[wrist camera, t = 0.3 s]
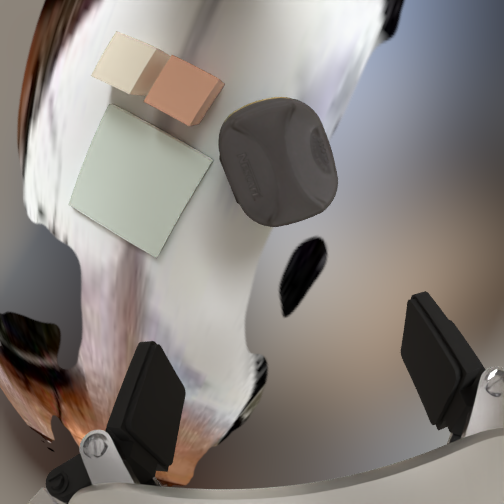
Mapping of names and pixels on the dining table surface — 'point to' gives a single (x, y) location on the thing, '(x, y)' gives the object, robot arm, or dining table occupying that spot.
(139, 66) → the cream block
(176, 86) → the terracotta block
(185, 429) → the dining table surface
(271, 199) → the coffee jar
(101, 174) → the board
